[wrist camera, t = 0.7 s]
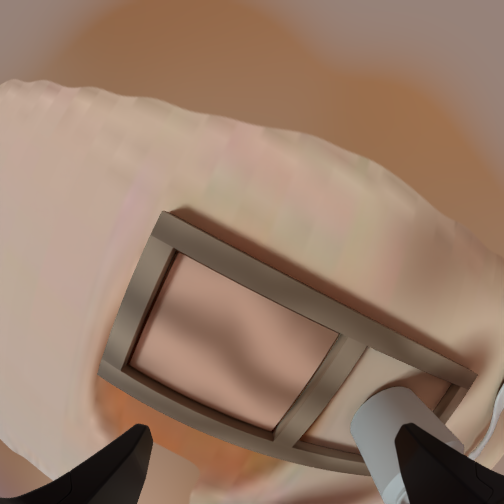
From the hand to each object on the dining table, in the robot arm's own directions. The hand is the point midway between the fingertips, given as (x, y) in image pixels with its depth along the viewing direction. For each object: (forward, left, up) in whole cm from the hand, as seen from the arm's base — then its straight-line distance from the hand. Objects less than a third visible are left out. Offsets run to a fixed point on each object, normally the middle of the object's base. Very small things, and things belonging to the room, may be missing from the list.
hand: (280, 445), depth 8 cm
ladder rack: (-4, -7, -14) cm, 16 cm away
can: (-4, -16, -14) cm, 22 cm away
